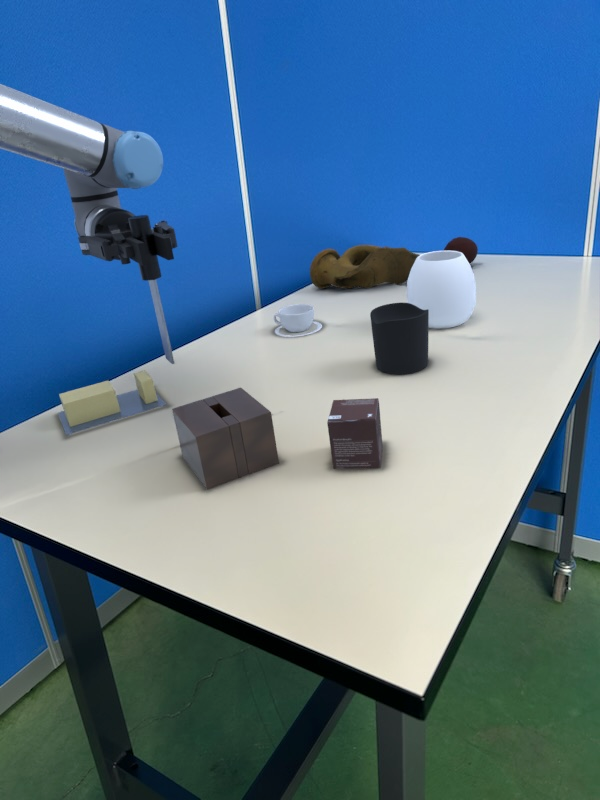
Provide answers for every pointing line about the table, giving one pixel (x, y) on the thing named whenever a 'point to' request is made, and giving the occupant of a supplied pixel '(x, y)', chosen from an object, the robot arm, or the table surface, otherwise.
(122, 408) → the butter dish
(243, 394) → the knife block
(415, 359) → the pen holder
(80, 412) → the butter stick
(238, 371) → the table surface
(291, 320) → the teacup
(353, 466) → the box
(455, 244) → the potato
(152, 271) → the knife
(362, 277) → the brown looped sculpture
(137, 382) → the butter slice
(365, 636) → the table surface
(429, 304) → the white vase
